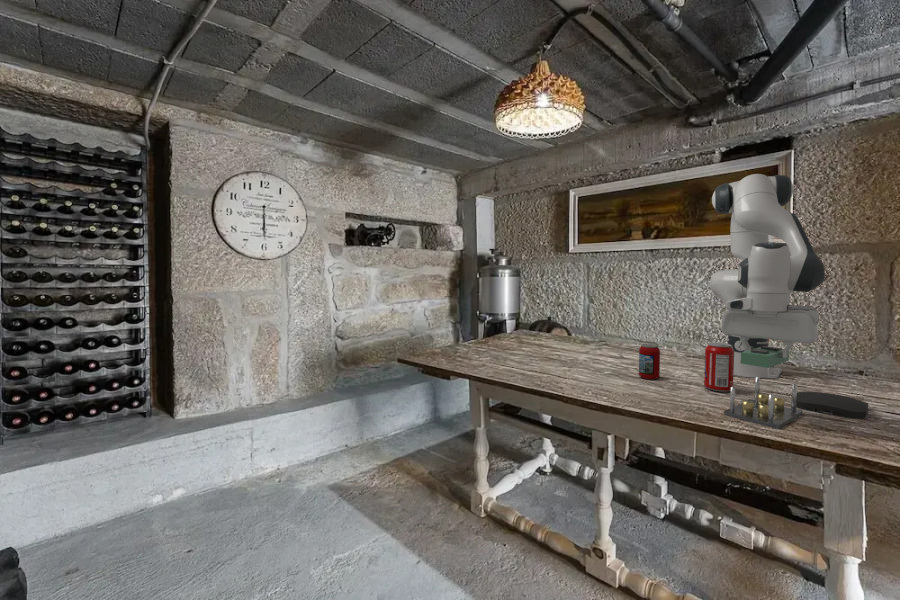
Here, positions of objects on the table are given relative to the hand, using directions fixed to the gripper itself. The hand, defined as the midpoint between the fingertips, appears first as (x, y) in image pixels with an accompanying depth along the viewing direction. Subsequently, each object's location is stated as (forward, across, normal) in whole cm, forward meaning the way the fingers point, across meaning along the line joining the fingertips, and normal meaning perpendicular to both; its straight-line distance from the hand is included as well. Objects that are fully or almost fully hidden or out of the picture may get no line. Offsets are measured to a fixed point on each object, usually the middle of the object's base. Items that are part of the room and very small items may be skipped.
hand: (765, 355), depth 106 cm
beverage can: (+16, +38, -11) cm, 43 cm away
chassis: (+16, 0, 0) cm, 16 cm away
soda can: (+16, +17, -15) cm, 28 cm away
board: (+2, 0, 0) cm, 2 cm away
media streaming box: (+17, -9, -21) cm, 28 cm away
